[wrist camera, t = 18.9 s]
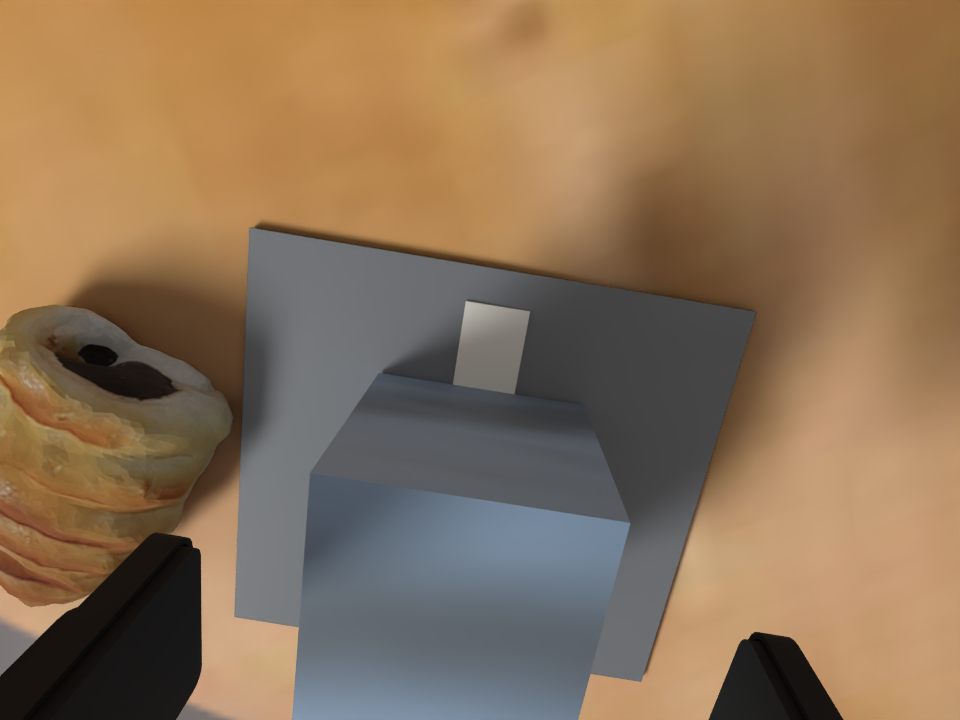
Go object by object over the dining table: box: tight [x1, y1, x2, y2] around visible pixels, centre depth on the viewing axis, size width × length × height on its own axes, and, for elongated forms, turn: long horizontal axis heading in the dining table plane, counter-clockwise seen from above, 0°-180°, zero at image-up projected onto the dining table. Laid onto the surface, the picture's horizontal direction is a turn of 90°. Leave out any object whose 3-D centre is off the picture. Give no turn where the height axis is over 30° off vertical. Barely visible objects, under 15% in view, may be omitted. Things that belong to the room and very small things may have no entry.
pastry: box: [0, 305, 233, 607], centre depth 16 cm, size 9×7×4 cm
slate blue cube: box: [292, 373, 630, 720], centre depth 14 cm, size 6×6×6 cm
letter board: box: [234, 227, 756, 682], centre depth 17 cm, size 13×14×1 cm
